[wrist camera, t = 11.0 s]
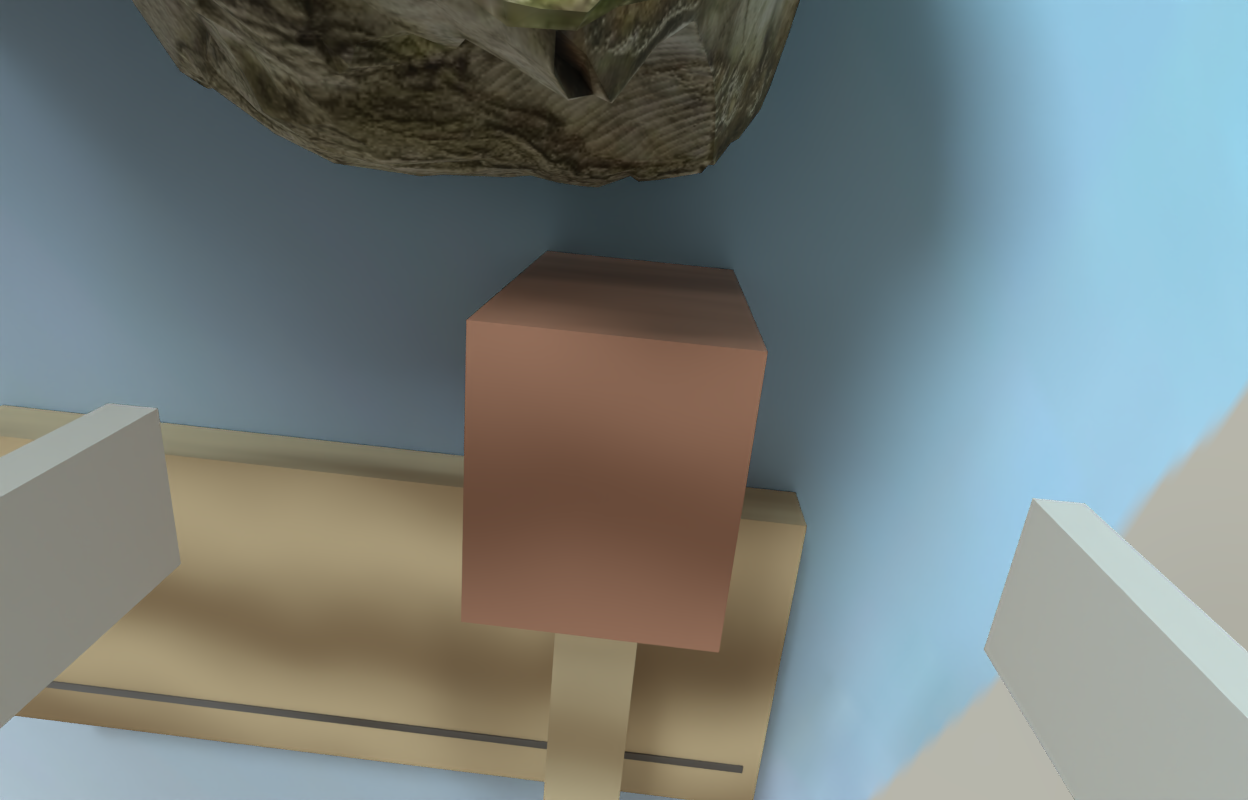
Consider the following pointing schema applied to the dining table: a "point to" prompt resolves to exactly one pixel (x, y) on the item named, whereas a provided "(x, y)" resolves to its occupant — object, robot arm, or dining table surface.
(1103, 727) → the robot arm
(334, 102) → the hollow geode rock
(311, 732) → the board
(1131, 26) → the dining table surface
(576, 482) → the brown block with handle
